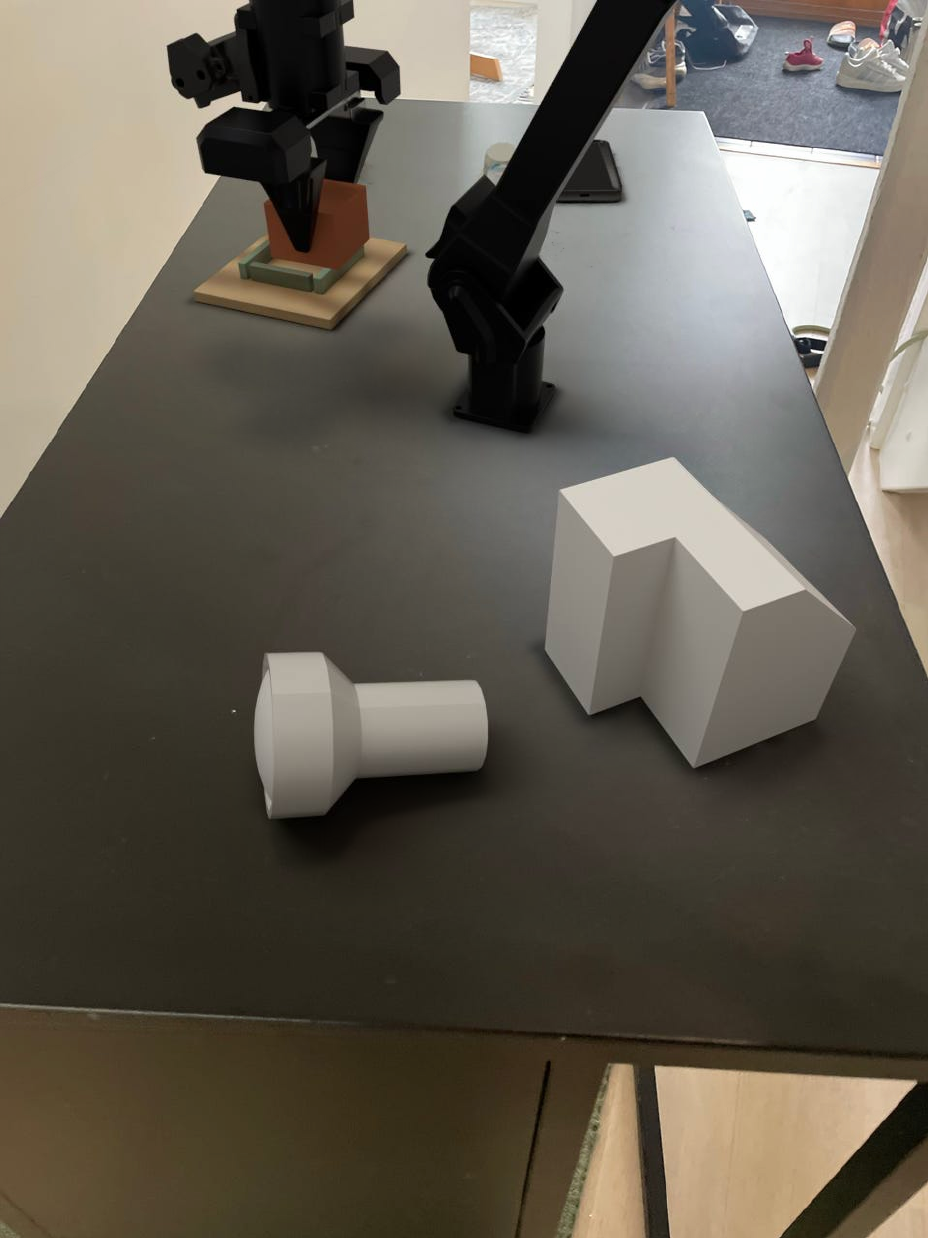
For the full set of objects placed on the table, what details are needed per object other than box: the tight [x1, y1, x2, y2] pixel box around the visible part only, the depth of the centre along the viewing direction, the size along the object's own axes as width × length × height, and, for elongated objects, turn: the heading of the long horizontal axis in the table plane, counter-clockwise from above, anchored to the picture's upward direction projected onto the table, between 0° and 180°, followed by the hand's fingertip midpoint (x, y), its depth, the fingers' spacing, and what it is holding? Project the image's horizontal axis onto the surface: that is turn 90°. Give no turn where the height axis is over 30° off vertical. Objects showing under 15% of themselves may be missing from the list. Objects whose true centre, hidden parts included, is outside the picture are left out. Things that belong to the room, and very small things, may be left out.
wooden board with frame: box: [192, 232, 408, 331], centre depth 86 cm, size 16×14×2 cm
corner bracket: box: [544, 456, 857, 769], centre depth 48 cm, size 11×11×12 cm
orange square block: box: [263, 179, 371, 270], centre depth 67 cm, size 6×6×4 cm
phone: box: [556, 139, 623, 203], centre depth 102 cm, size 8×1×15 cm
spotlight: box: [253, 651, 489, 820], centre depth 46 cm, size 8×11×8 cm
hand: (320, 234), depth 68 cm, fingers closed on orange square block, 5 cm apart
